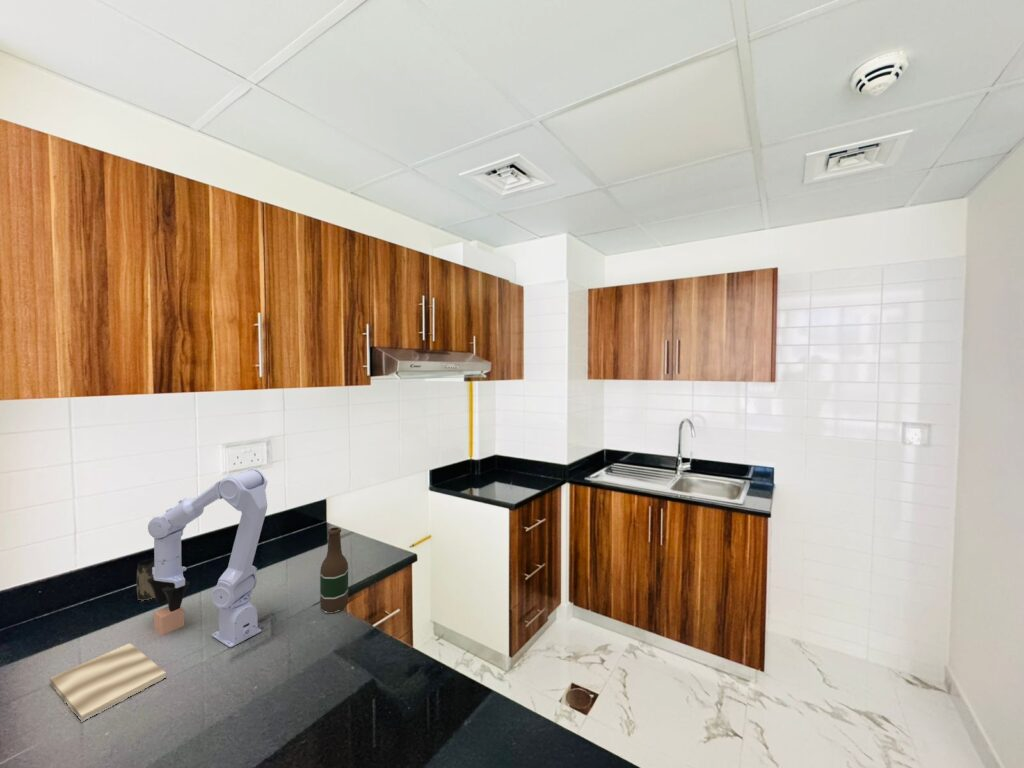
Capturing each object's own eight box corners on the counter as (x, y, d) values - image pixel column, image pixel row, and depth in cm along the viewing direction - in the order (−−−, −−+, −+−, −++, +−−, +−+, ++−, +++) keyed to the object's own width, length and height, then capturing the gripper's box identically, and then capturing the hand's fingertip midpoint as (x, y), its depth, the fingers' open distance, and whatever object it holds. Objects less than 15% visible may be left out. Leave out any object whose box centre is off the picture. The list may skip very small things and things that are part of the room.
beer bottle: (320, 616, 121) (319, 535, 120) (320, 602, 128) (320, 526, 128) (348, 611, 124) (348, 531, 124) (347, 597, 132) (347, 522, 131)
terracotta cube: (184, 626, 116) (183, 608, 116) (162, 636, 112) (161, 617, 112) (175, 620, 119) (175, 603, 119) (153, 629, 114) (153, 612, 114)
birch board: (165, 678, 97) (165, 672, 97) (81, 722, 84) (81, 715, 84) (130, 648, 106) (129, 643, 106) (50, 684, 94) (49, 677, 94)
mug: (143, 603, 127) (142, 564, 126) (132, 599, 129) (132, 560, 128) (172, 590, 134) (172, 553, 134) (162, 586, 136) (161, 550, 136)
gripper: (197, 557, 114) (198, 606, 115) (173, 545, 122) (173, 591, 122) (166, 568, 108) (167, 619, 109) (142, 554, 115) (143, 602, 116)
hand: (168, 605), depth 115 cm, fingers open, 7 cm apart
